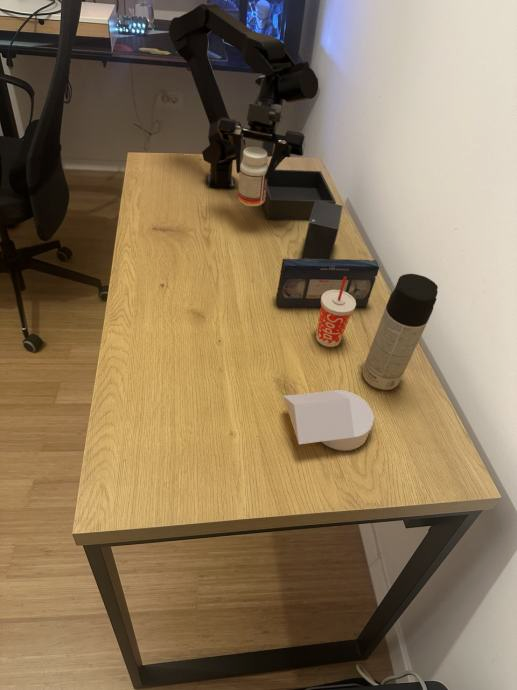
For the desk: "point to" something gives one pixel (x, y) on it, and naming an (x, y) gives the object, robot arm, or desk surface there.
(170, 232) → the desk surface
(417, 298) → the spray can
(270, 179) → the bin
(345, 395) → the wedge on round base
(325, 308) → the beverage cup
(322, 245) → the small box
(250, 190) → the pill bottle
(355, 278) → the vhs cassette tape
